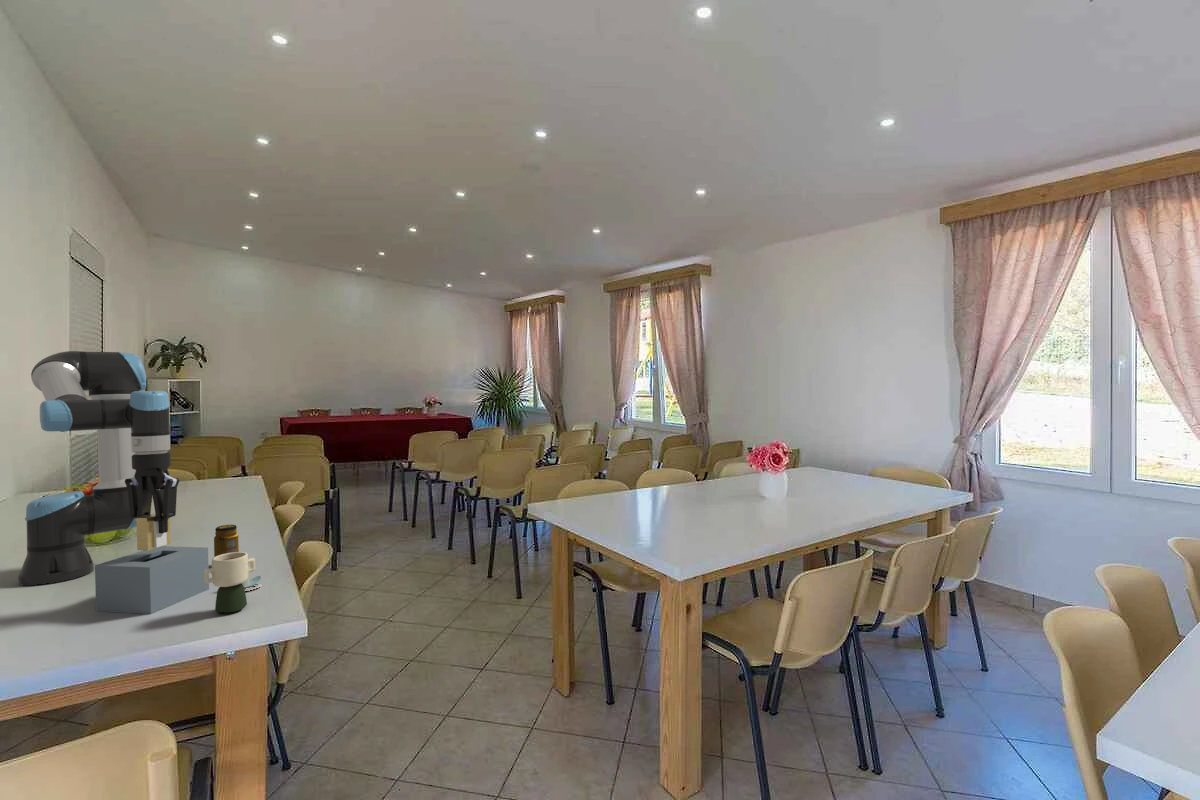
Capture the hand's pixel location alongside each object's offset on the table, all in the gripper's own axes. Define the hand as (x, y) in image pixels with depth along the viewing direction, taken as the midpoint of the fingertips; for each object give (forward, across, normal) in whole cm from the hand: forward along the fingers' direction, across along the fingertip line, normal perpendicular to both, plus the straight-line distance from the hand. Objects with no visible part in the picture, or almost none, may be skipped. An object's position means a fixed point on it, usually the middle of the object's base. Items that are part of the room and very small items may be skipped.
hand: (153, 545), depth 136 cm
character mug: (+14, +25, -4) cm, 29 cm away
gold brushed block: (0, 0, 0) cm, 0 cm away
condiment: (+14, -3, +25) cm, 29 cm away
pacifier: (+14, +18, +9) cm, 24 cm away
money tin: (+14, 0, 0) cm, 14 cm away
